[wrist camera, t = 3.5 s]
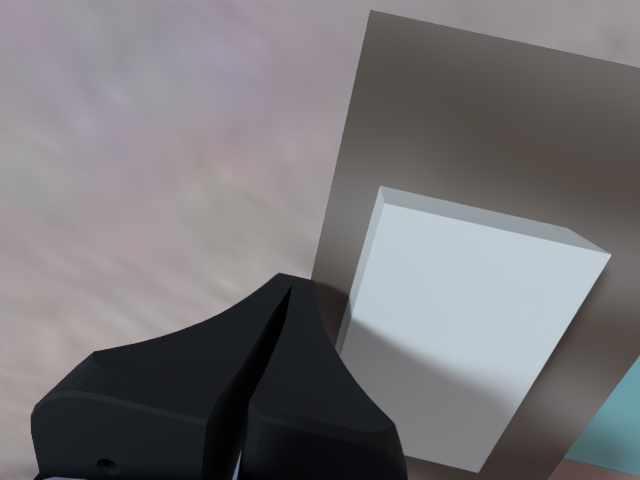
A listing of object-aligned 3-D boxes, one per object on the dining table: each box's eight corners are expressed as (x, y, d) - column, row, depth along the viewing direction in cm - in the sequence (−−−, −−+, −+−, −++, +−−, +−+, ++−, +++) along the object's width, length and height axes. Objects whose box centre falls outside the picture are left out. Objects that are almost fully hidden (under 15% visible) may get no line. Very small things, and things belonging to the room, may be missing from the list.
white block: (462, 424, 14) (478, 473, 12) (322, 390, 14) (317, 433, 12) (567, 228, 10) (611, 254, 9) (379, 185, 11) (384, 203, 9)
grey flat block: (490, 434, 19) (521, 512, 16) (289, 386, 20) (272, 451, 16) (685, 106, 12) (825, 107, 9) (366, 36, 13) (370, 10, 9)
